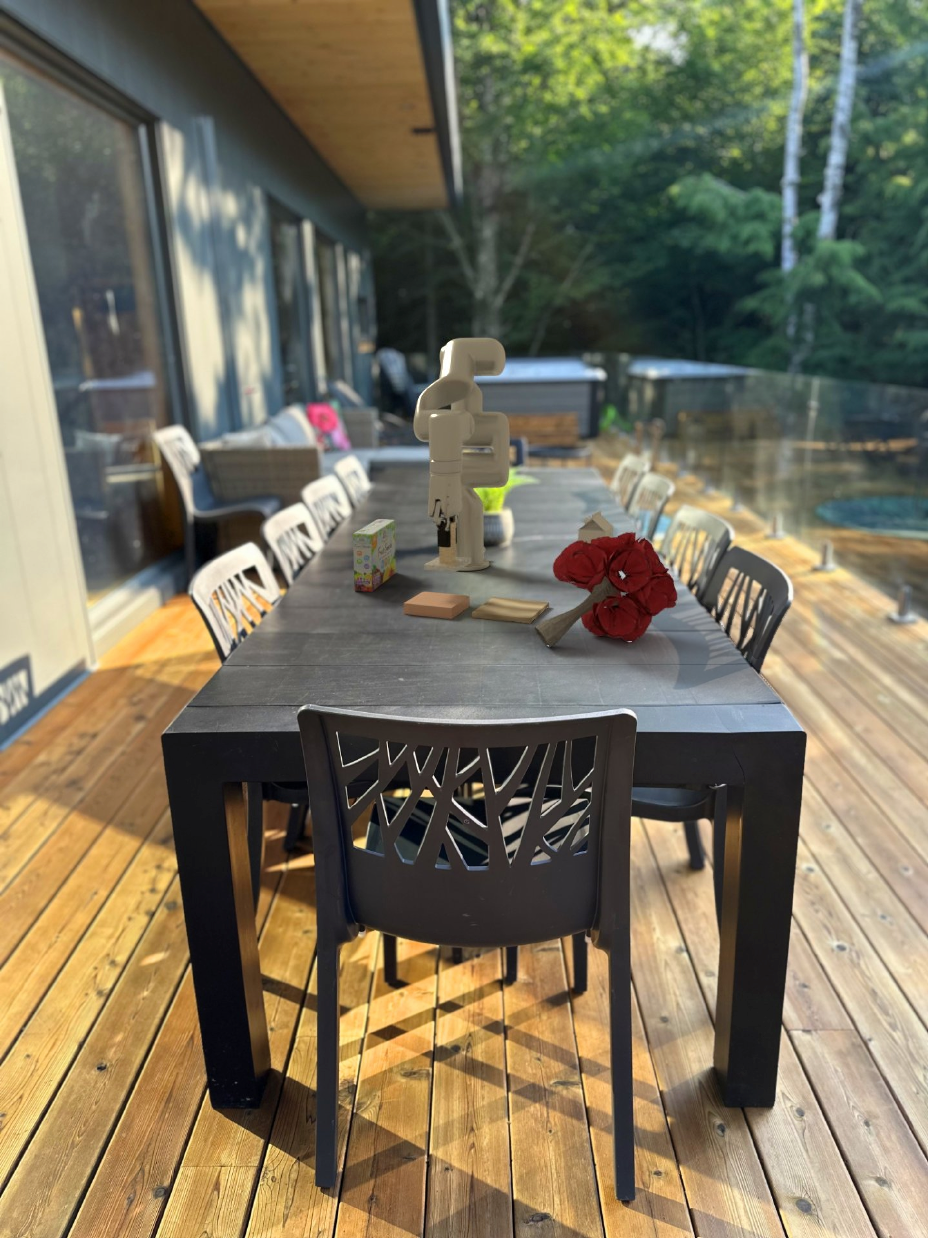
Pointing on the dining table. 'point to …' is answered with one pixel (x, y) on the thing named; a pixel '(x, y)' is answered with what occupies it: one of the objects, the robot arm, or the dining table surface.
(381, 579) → the snack box
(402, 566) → the dining table surface
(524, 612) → the wooden base plate
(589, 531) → the milk carton
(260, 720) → the dining table surface
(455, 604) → the tile
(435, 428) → the robot arm
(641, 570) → the bouquet
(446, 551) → the wooden post on base
